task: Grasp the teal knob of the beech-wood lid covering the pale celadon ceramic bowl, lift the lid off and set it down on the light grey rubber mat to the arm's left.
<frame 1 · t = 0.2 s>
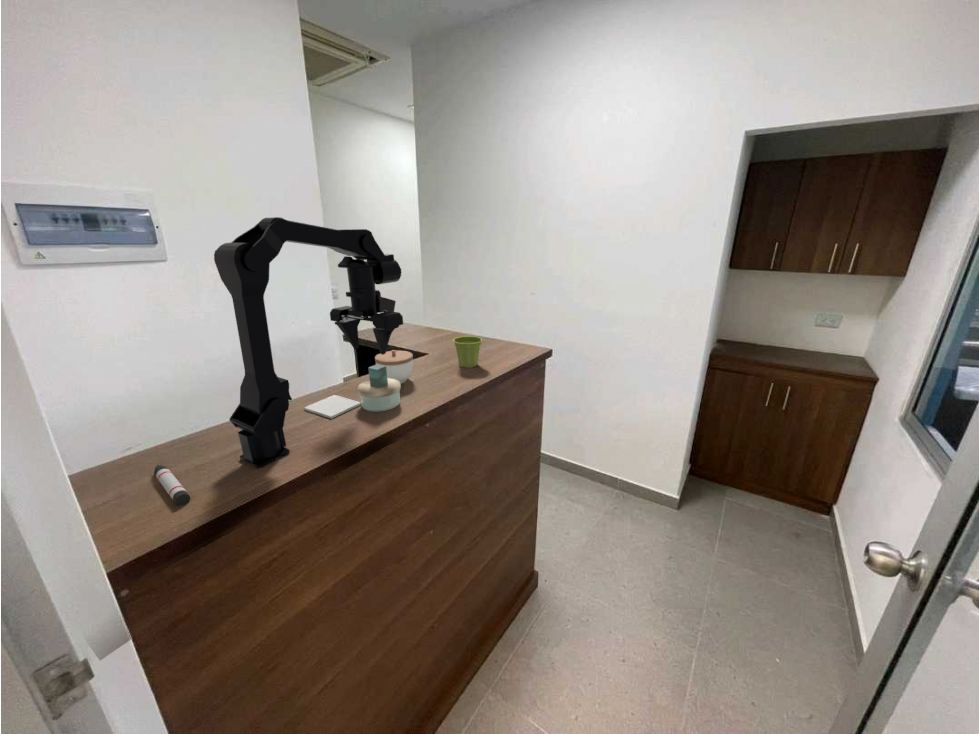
hand: (369, 351, 93), 14 cm above the countertop, fingers open, 9 cm apart
mat: (333, 407, 96), on the countertop
lid: (379, 389, 96), point 4 cm above the countertop, touching bowl
plant pot: (468, 365, 126), on the countertop
lidded jar: (396, 381, 113), on the countertop
bowl: (381, 403, 98), on the countertop
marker: (171, 487, 66), on the countertop
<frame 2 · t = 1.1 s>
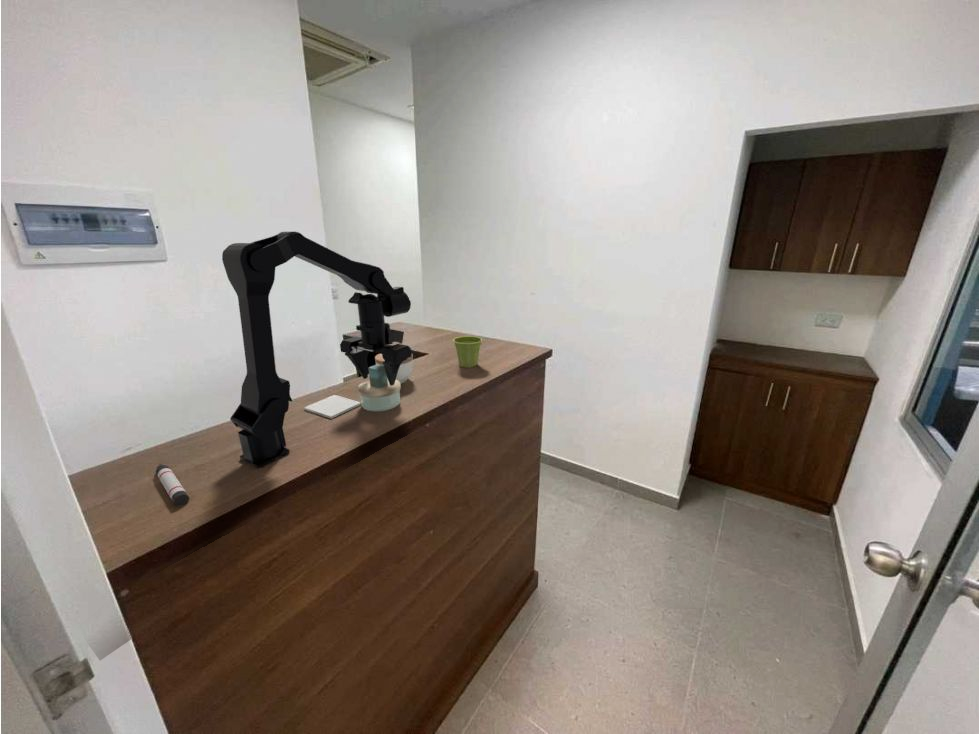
hand: (378, 381, 96), 6 cm above the countertop, fingers open, 9 cm apart
nothing on the countertop moved.
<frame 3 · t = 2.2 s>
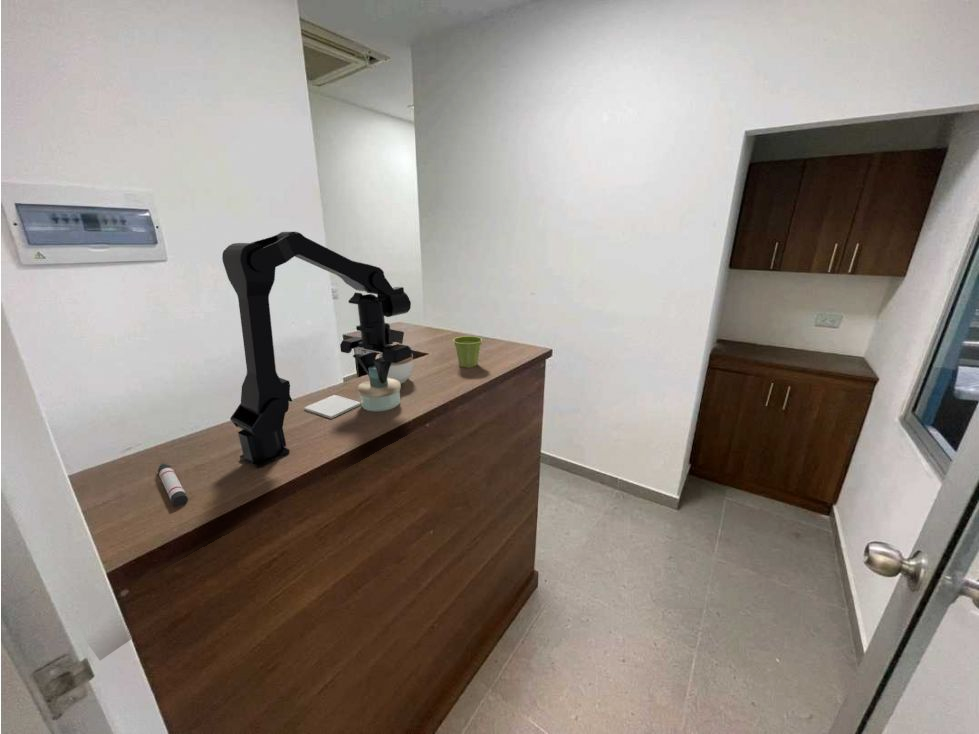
hand: (378, 381, 96), 6 cm above the countertop, fingers closed on lid, 3 cm apart
lid: (379, 389, 96), point 4 cm above the countertop, touching bowl, gripper
everything else where it was.
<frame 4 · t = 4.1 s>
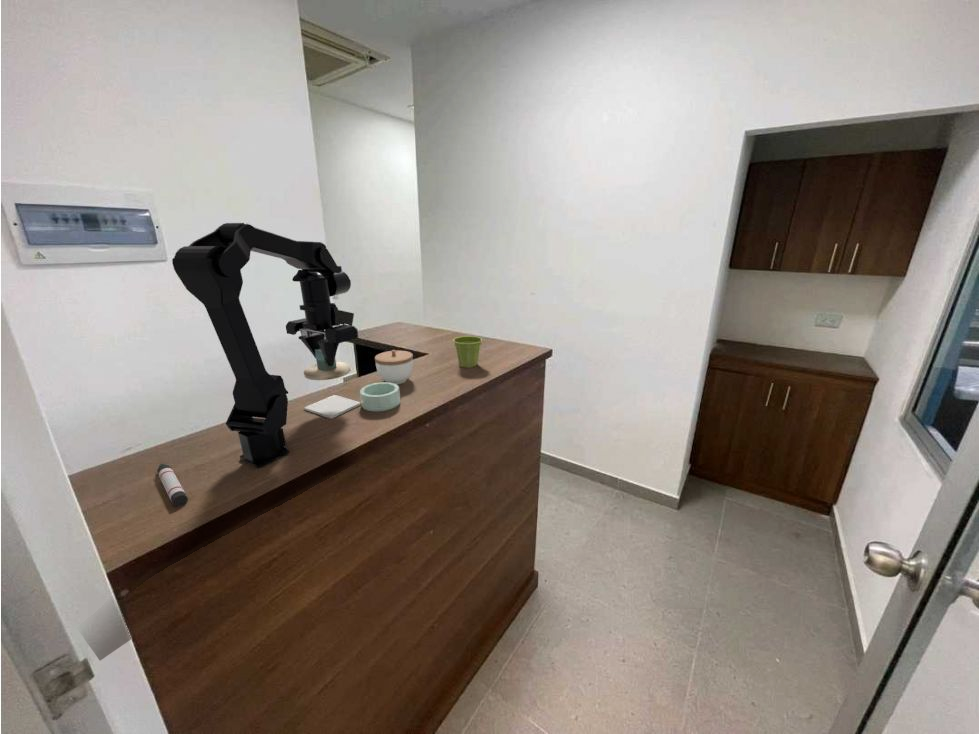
hand: (326, 364, 92), 11 cm above the countertop, fingers closed on lid, 3 cm apart
lid: (327, 372, 93), point 9 cm above the countertop, touching gripper
everything else where it was.
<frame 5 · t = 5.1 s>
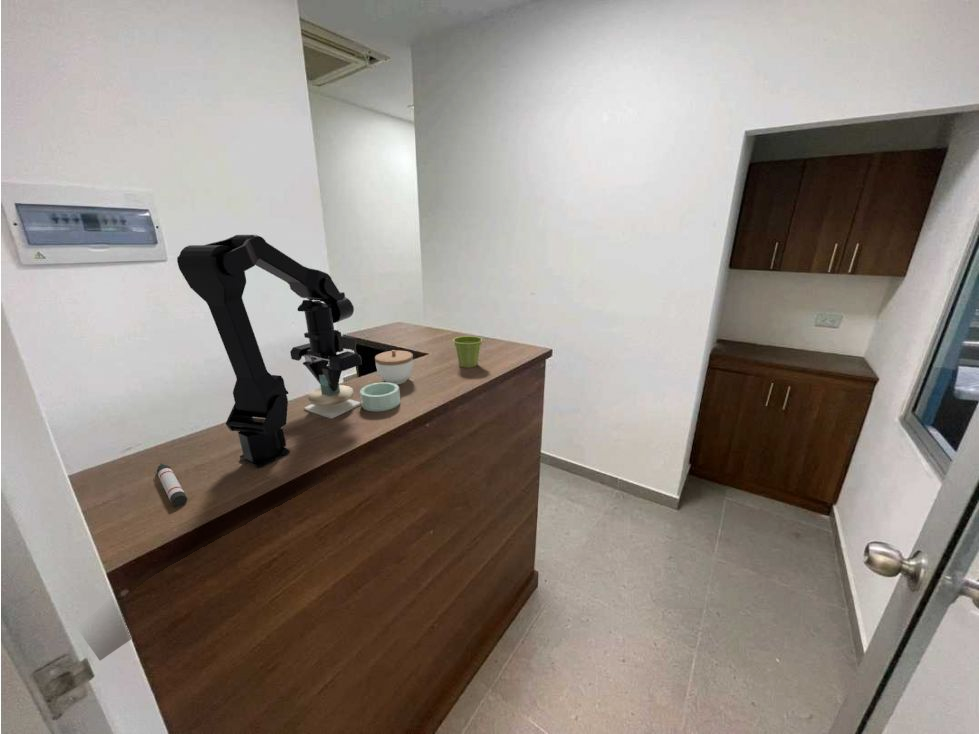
hand: (330, 389, 94), 5 cm above the countertop, fingers closed on lid, 3 cm apart
lid: (331, 396, 95), point 3 cm above the countertop, touching gripper
everything else where it was.
when the fingers open (4 cm above the countertop, at t = 5.9 s): lid drops 1 cm, resting on mat.
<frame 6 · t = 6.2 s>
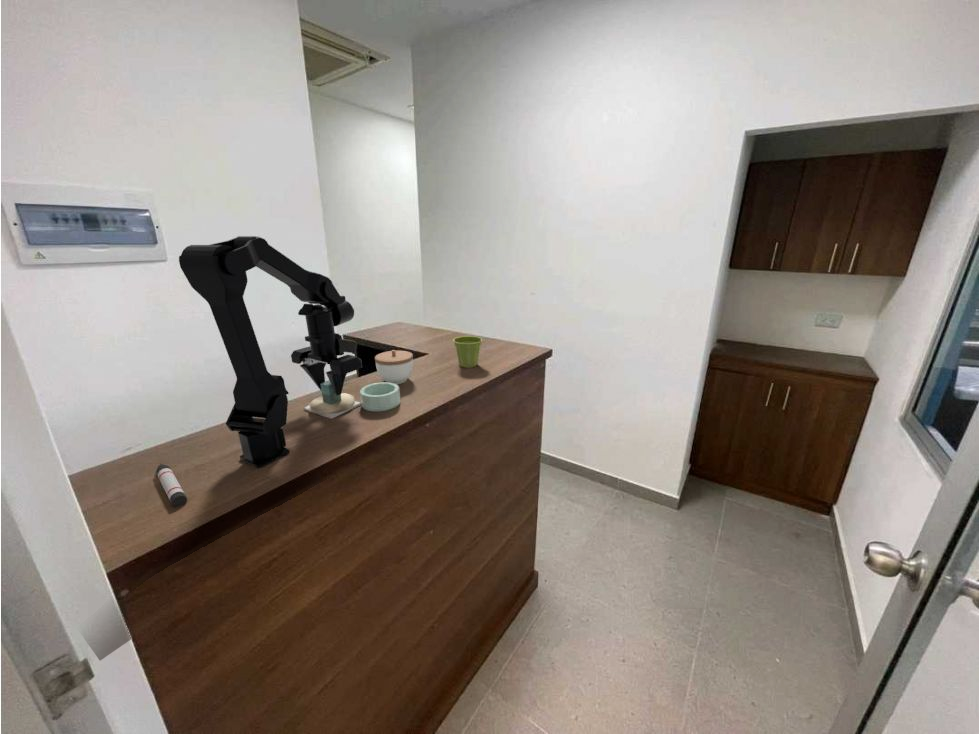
hand: (330, 392, 94), 4 cm above the countertop, fingers open, 6 cm apart
lid: (333, 405, 96), point 1 cm above the countertop, touching mat
everything else where it was.
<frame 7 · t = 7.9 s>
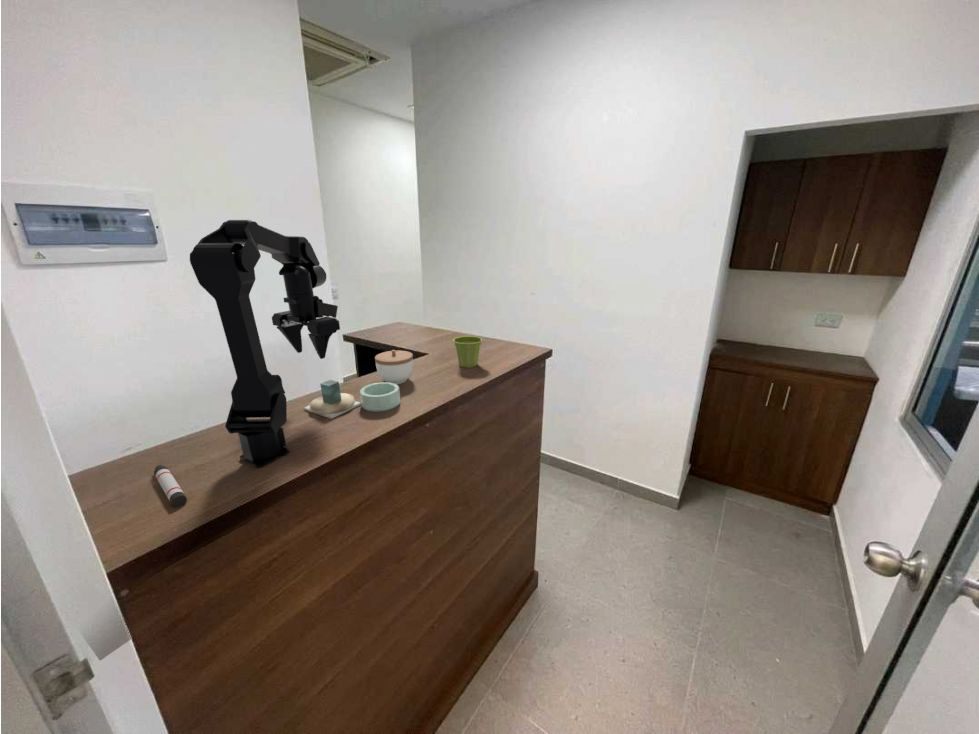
hand: (311, 355, 95), 12 cm above the countertop, fingers open, 9 cm apart
nothing on the countertop moved.
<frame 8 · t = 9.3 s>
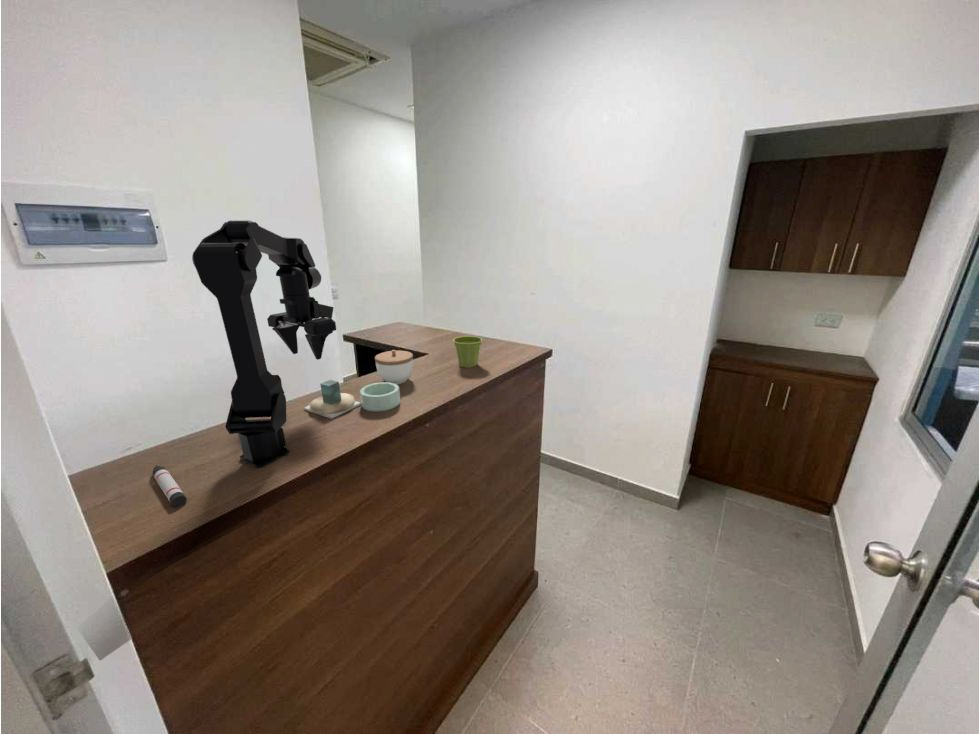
hand: (306, 356, 96), 12 cm above the countertop, fingers open, 9 cm apart
nothing on the countertop moved.
at the end: lid inside the target area on the mat (0.0 cm from its centre), point 0.6 cm above the mat's base; lid tilted 0°; lid touching mat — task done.
